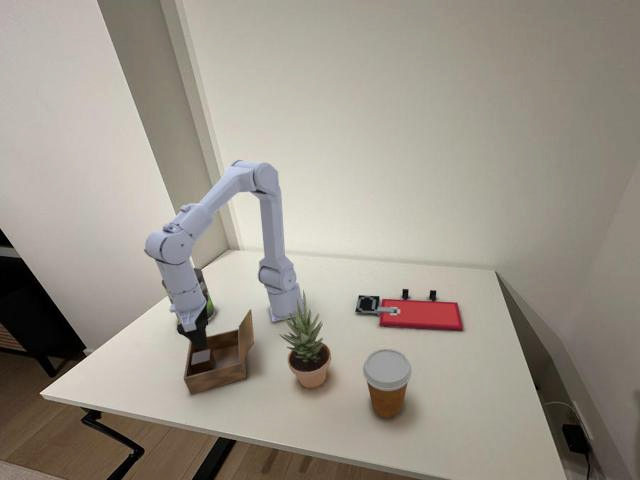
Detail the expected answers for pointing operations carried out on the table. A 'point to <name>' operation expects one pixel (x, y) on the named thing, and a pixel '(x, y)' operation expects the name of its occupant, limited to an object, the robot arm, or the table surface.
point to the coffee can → (204, 290)
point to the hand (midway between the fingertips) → (203, 335)
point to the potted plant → (307, 349)
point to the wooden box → (217, 363)
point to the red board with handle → (413, 312)
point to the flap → (246, 335)
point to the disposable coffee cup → (387, 380)
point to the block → (203, 361)
